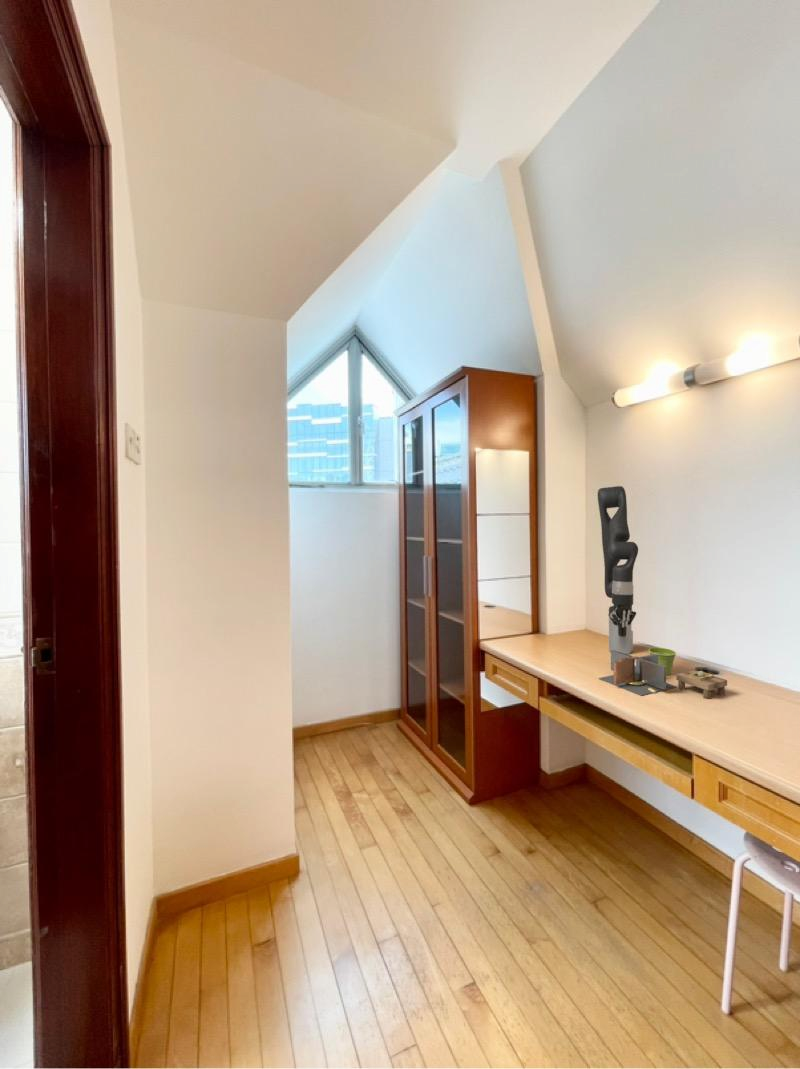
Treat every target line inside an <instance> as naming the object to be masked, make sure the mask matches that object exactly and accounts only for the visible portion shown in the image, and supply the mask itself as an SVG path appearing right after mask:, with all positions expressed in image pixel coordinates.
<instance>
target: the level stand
mask: <svg viewBox="0 0 800 1069" xmlns="http://www.w3.org/2000/svg"><path fill="white" fill-rule="evenodd" d="M675 679H676V681H678V683H677V684H678V685H677V686H678V687H677V688H678V689H679V690H682V691H685V690H686V684H687V685H690V686H692V687H697V688H699V689H702V695H703V699H707V700H710V699H711V697H712V696H711V695H712V694H711V691H713V690H717V694H718V695H721V696H725V692H726V687H727V686H728V679H724V678H721V677H718V676H715V675H714V674H711V673H707V672H706V671H703V670H689V671H686V672H681V673H678V674H676V676H675Z"/></svg>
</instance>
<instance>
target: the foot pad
mask: <svg viewBox="0 0 800 1069" xmlns="http://www.w3.org/2000/svg"><path fill="white" fill-rule="evenodd" d="M598 679H599V680H601V681H603V682H606V683H607V684H611V685H613V686H615V687H618V688H621V689H623V690H626V691H628V692H630V693H633V694H636V695H638V696H640V697H643V696H648V695H651V694H654V693H660V692H664V691H668V690H672V689H676V688H678V687H677V686H678V685H673V684H671V683H669V682H666V689H661V688H658V687H656V686H653V685H650V684H647V683H645V684H644V685H641V686H636V685H630V684H627V683H625V682H624V683H620V684H614V674H612V675H611V674H610V675H607V676H603V677H599V678H598Z"/></svg>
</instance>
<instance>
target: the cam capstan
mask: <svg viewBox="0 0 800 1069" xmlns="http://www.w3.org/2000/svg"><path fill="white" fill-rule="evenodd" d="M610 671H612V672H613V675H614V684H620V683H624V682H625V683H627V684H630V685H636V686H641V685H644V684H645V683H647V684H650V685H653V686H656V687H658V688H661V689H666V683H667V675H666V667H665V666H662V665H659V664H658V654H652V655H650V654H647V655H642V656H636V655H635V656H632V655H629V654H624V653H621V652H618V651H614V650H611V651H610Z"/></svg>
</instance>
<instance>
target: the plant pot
mask: <svg viewBox="0 0 800 1069" xmlns="http://www.w3.org/2000/svg"><path fill="white" fill-rule="evenodd" d="M648 652H649V655H652V654H658V664H659V665H662V666H665V667H666V676H670V675H672V673H673V666H674V660H675V658H676V656H677V654H678V653H677V652H676V651H675V650H673V649H669V648H664V647H650V648H648Z"/></svg>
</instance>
